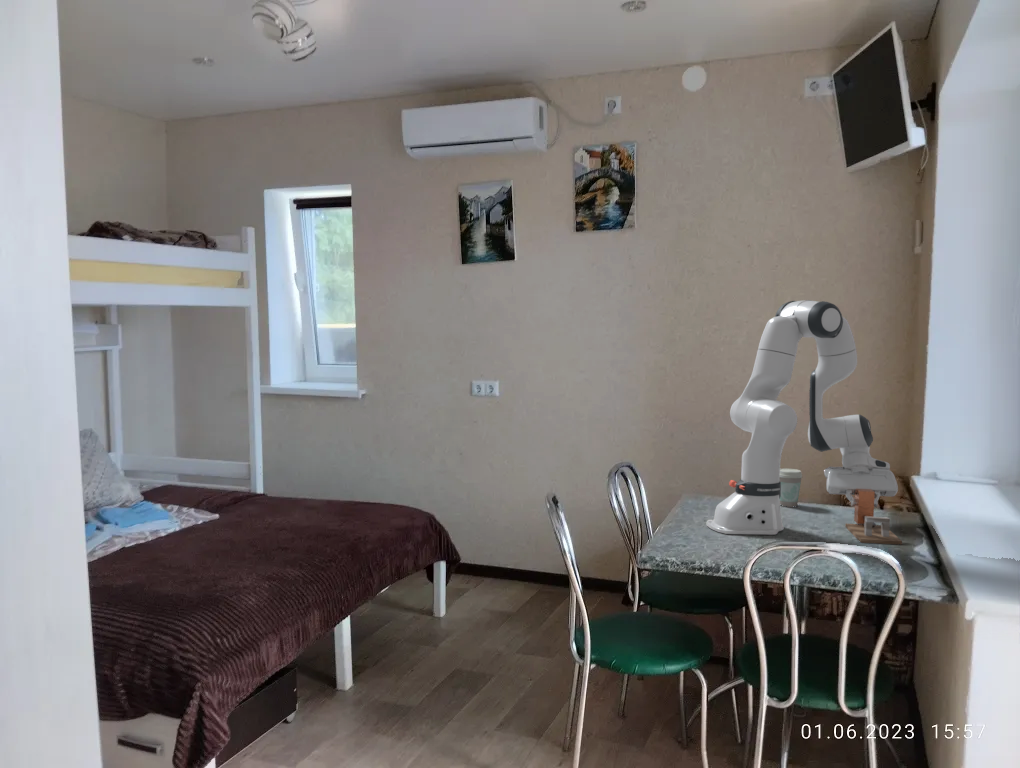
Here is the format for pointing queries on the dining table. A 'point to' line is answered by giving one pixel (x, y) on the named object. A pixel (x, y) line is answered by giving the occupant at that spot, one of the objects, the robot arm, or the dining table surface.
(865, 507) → the orange brown upright block
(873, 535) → the eye board
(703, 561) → the dining table surface
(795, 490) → the coffee cup
